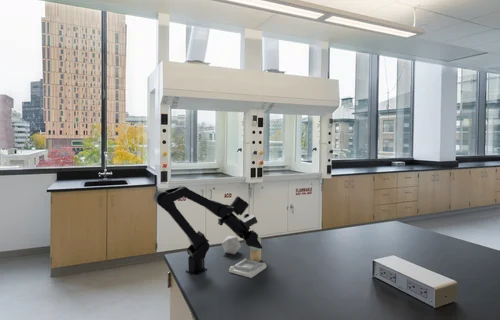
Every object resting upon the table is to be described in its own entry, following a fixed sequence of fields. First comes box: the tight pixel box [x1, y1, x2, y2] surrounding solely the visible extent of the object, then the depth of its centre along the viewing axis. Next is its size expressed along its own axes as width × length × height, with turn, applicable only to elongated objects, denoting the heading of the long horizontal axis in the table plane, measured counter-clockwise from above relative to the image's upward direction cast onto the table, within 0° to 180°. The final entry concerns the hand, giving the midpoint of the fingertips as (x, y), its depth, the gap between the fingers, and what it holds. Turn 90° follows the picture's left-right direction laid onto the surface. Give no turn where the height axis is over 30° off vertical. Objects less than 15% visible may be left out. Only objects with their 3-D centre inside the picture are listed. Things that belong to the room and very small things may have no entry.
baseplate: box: [228, 258, 267, 279], centre depth 135 cm, size 12×11×2 cm
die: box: [221, 235, 242, 255], centre depth 155 cm, size 8×9×10 cm
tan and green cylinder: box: [249, 235, 262, 262], centre depth 145 cm, size 5×5×11 cm
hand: (257, 244), depth 146 cm, fingers open, 9 cm apart
